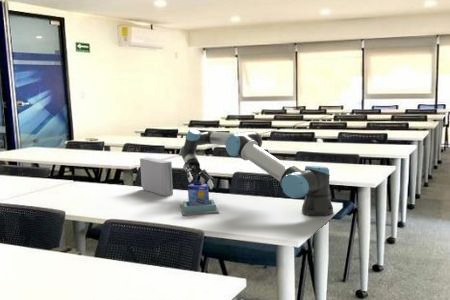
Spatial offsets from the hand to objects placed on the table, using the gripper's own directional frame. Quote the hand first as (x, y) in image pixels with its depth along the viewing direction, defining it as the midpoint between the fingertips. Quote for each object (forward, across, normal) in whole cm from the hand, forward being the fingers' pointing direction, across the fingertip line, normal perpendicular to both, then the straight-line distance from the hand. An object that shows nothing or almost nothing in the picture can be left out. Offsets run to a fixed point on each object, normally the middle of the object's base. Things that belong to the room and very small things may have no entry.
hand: (201, 184), depth 267 cm
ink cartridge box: (+14, +2, -7) cm, 15 cm away
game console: (-34, +4, -32) cm, 47 cm away
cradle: (+14, +2, -8) cm, 16 cm away
